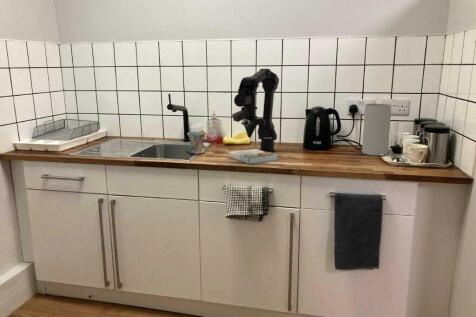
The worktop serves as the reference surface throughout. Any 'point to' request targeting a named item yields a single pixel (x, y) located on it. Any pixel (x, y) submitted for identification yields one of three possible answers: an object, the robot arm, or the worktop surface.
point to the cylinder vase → (376, 129)
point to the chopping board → (236, 153)
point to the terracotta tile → (264, 154)
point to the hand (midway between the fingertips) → (249, 137)
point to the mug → (196, 142)
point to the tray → (258, 159)
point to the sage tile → (250, 156)
